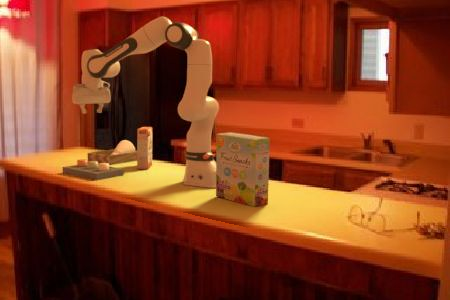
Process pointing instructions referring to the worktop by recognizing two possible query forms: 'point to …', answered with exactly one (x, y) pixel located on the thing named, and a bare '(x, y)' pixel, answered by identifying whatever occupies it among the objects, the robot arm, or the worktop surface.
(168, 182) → the worktop surface
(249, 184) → the snack box
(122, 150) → the cream teardrop
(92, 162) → the sage button
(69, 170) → the panel
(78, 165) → the terracotta button
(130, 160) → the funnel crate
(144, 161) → the cracker box
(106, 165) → the ivory button
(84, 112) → the robot arm
